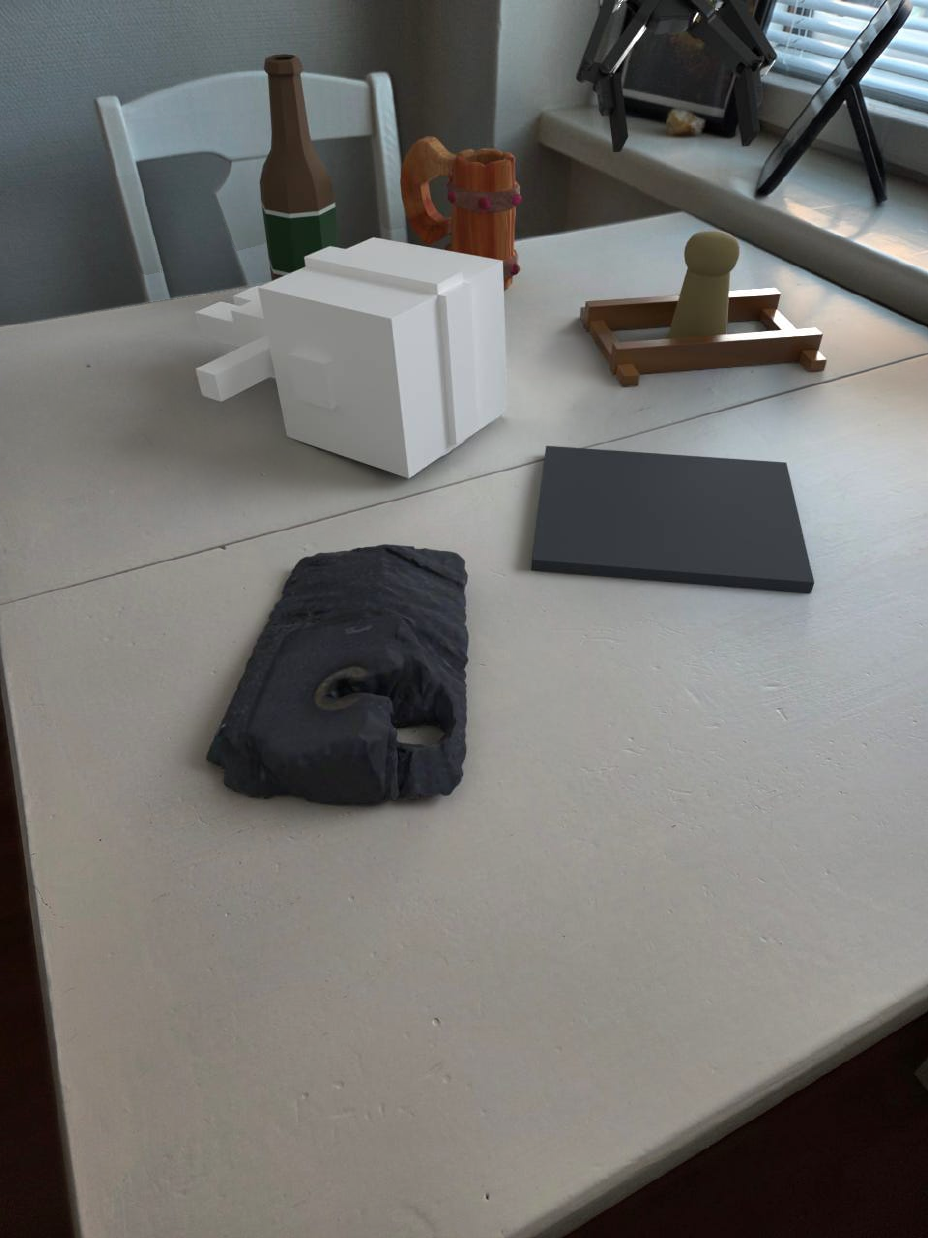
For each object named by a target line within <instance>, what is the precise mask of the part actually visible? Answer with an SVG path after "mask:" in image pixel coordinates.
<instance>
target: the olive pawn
mask: <svg viewBox="0 0 928 1238" xmlns="http://www.w3.org/2000/svg"><path fill="white" fill-rule="evenodd" d="M740 250H741V249H740V245H739V241H738V239H737V237H735V236H734V235H732V234H730V233H728V232H725V231H721V230H711V229H710V230H702V231H698V232H696V233H694V234H692V235H691V236H690V238H688V241H687V242H686V244H685V247H684V252H683V255H684V256H683V257H684V263H685V265H686V267H687V269H686V273H685V275H684V279H683V284H682V286H681V289H680V292H679V295H680V296H679V299H678V303H677V306H676V309H675V313H674V316H673V320H672V323H671V326H669V331H668V333H667V336H666V337H667V338H666V339H672V338H685V337H699V336H712V335H726V334H727V333H728V322H727V318H728V300H729V291H730V283H731V282H730V281H731V272H732V271H733V270H734V269H735V267H736V265H737V263H738V261H739V258H740V253H741V251H740Z"/></svg>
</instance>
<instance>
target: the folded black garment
mask: <svg viewBox="0 0 928 1238" xmlns="http://www.w3.org/2000/svg"><path fill="white" fill-rule="evenodd" d="M468 579H469V574H468V572H467V570H466V560H465V559H464V558H463V557H462V555H460V554H458V553H457V552H454V551H451V550H450V551H449V550H438V549H431V548H427V547H424V548H415V546H414V545H401V544H390V543H389V544H388V543H387V544H386V543H384V544H378V545H373V546H365V547H356V548H352V549H350V550H340V551H330V552H318V553H315V554H313V555H311V556H304V557H302V558H301V559H300V560H299V559H298V561H297V562H296V564H295V565H294V567H293V569H292V570H291V573H290V575H289V576H288V578H287V579H286V580H285V582H284V585H283V589H282V591H281V594H282V596H281V597H280V599H279V600H278V601H277V602H276V603H275V605H274V609H272V610H271V612H270V614H269V616H268V620H267V622H266V624H265V625H264V627H263V629H262V631H261V633H260V634H259V636H258V638H257V639H256V643H255V645H253V649H252V652H251V655H250V657H249V658H248V659H247V660H246V664H245V667H244V670H243V673H242V676H241V677H240V679H239V680H238V683H237V686H236V688H235V691H234V693H233V695H232V697H231V699H230V702H229V705H228V706H227V709H226V712H225V713H224V716H223V718H222V719H221V722H220V724H219V727H218V728H217V730H216V733H215V734H214V736H213V739H212V742H211V743H210V745H209V749H208V750H207V754H206V756H205V759H206V761H207V762H209V763H211V764H213V765H215V766H217V767H221V769H222V770H223V773H224V777H223V781H222V784H223V785H224V786H225V787H226V788H227V789H229V790H231V791H233V792H236V793H244V794H245V795H246V796H248V797H250V798H251V797H253V798H254V797H256V798H257V797H259V798H262V799H264V800H268V799H270V798H273V797H275V796H282V797H285V796H289V797H290V796H291V797H293V798H299V799H303V800H305V801H308V802H313V803H319V804H323V805H336V806H350V805H351V806H375V805H379V804H381V803H383V802H384V801H388V800H390V799H391V800H392V801H397V798H398V797H400V798H401V799H410V798H411V799H416V800H417V799H419V798H420V797H421V796H422V795H426V796H431V797H432V796H433V797H434V796H438V795H442V796H444V797H448V796H450V795H451V794H452V793H453V791H454V790H455V789H456V788H457V787H458V786H459V785H460V784H461V783H462V779H463V777H464V770H463V764H464V762H465V760H466V757H467V751H468V749H467V748H468V747H467V743H466V737H467V734H466V733H467V732H466V728H467V727H466V726H467V723H468V716H467V715H468V714H467V713H468V712H467V711H468V705H467V704H468V700H467V699H468V698H467V683H466V678H467V672H466V670H465V669H466V666H467V665H468V663H469V657H468V649H469V643H470V642H469V639H470V638H469V637H470V636H469V631H468V627H467V624H466V622H467V613H466V612H467V610H466V606H467V599H466V593H465V592H466V586H467V584H468ZM416 725H437V726H438V727H439V729H440V731H442V735H441V737H440V738H439V740H438V741H436V743H434V744H430V745H426V744H422V743H410V742H405V741H404V742H401V741H399V740H398V731H397V729H396V728H399V727H403V726H416Z"/></svg>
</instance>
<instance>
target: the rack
mask: <svg viewBox="0 0 928 1238" xmlns="http://www.w3.org/2000/svg"><path fill="white" fill-rule="evenodd" d="M679 296H680V294H671V295H670V294H669V295H656V296H641V297H628V298H627V297H625V298H611V299H598V300H596V299H595V300H586V301H585V302H584V303H585V304H584V306H581V307H580V310H579V319H580V321H581V322H582V323H583V324H582V327H583V329H584V330H585V332H586V333H589V335H590V336H591V338H592V340H593V341H594V343H595V345H596V347H597V348H598V349H599V351H600V353H601V354H602V356H603V357H604V359H605V361H606V362H607V364H608V366H609V371H610V373H611V374H612V376H613V377H616V378H617V381H618V382H619V384H620V386H621V387H623V388H626V387H637V386H639V383H640V376H641V375H646V374H647V375H648V374H658V373H671V372H673V373H674V372H684V371H697V370H711V369H712V370H713V369H722V368H734V367H735V368H736V367H751V366H760V365H761V366H762V365H763V366H764V365H773V364H786V363H800V364H801V365H802V366H803V367H804V368H805V369H806V370H807V371H808V372H809V373H813V372H823V371H825V368H826V365H827V361H828V360H827V358H826V357H825V356H824V355H823V354H822V353H821V352H820V351H819V350H820V346H821V344H822V343H821V342H822V339H823V335H824V334H823V333H822V332H821V330H819V329H818V328H817V327H809V328H796V327H795V326H794V325H793V324H792V323H791V322H789V320H788V319H787V318H786V317H784V315H783V314H781V312H780V311H779V310H778V308H779V304H780V299H781V296H782V294H781V292H780V291H779V290H778V289H777V288H775V287H772V288H760V289H759V288H757V289H744V290H731V291H730V290H729V300H728V318H727V323H735V322H736V323H737V322H751V321H760V322H761V323H762V324H763V325H764V326H765V327H766V328H767V329H768V331H755V332H742V333H729V334H726V335H712V336H699V337H685V338H672V339H667V338H660V339H659V338H658V339H646V340H645V339H644V340H632V341H620V342H619V341H618V339H617V338H616V337H615V335H614V333H613V332H612V331H625V330H640V329H652V328H666V327H670V326H671V323H672V320H673V316H674V313H675V309H676V306H677V303H678V299H679Z"/></svg>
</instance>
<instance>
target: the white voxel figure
mask: <svg viewBox="0 0 928 1238" xmlns="http://www.w3.org/2000/svg"><path fill="white" fill-rule="evenodd" d="M304 259H305V266H306V267H304V268H301V269H299V270H297V271H294V272H292V273H290V274H287V275H285V276H283V277H280V278H278V279H276V280H274V281H272V280H271V281H269V282H267V283H264V284H262V285H255V286H253V287H250V288H248V289H246V290H244V291H241V292H239V293H236V294H234V295H232V299H233V303H234V304H233V303H229V302H225V301H218V302H215V303H213V304H210V305H208V306H206V307H203V308H202V309H199V310H197V311H195V317H196V321H197V326H198V330H199V335H200V337H201V338H203V339H208V340H212V341H214V342H218V343H221V344H225V345H228V346H232V347H236V349H234V350H233V351H231V352H230V351H229V352H228V353H226V354H223V355H222V356H220V357H217V358H215V359H214V360H212V361H209V362H207V363H205V364H203V365H200V366H199V367H197V368H195V372H196V377H197V380H198V384H199V388H200V392H201V395H202V396H203V397H205V398H208V399H211V400H213V401H217V402H222V403H223V402H224V401H225V400H228V399H229V398H231V397H233V396H235V395H238V394H240V393H241V392H243V391H245V390H248V389H249V388H251V387H253V386H254V385H256V384H258V383H260V382H262V381H265V380H267V379H268V378H272V379H275V382H276V387H277V393H278V397H279V402H280V408H281V412H282V418H283V423H284V429H285V433H286V437H287V438H290V439H292V440H296V441H298V442H301V443H304V444H307V445H310V446H313V447H316V448H318V449H321V450H325V451H327V452H331V453H334V454H336V455H339V456H342V457H346V458H348V459H351V460H354V461H357V462H360V463H362V464H366V465H369V466H370V467H371V466H372V467H375V468H378V469H380V470H383V471H386V472H389V473H392V474H395V475H398V476H401V477H404V478H406V479H410V478H412V477H413V476H415V475H417V474H418V473H420V472H421V471H423V470H424V469H425V468H426V467H428V466H429V465H431V464H432V463H434V462H435V461H437V460H438V459H439V458H441V457H444V456H446V455H447V454H449V453H450V452H451V451H453V450H454V449H456V448H457V447H459V446H461V444H463V443H464V442H466V440H467V439H468V438H470V437H471V436H472V435H474V434H475V433H478V431H480V430H481V429H483V428H484V427H486V426H487V425H489V424H490V423H491V422H493V421H495V420H496V419H497V418H499V417H500V416H502V415H503V414H505V413H507V412H508V411H509V402H508V372H507V370H508V369H507V345H506V344H507V342H506V318H505V317H506V315H505V314H506V313H505V290H504V282H503V261H501V260H496V259H490V258H485V257H479V256H474V255H468V254H463V253H457V252H452V251H446V250H445V249H440V248H435V247H429V246H423V245H418V244H412V243H407V242H402V241H397V240H390V239H386V238H379V237H374V236H373V237H371V238H368V239H366V240H364V241H361V242H359V243H357V244H354V245H352V246H349V247H347V248H341V247H339V248H337V247H332V246H329V247H327V248H324V249H322V250H320V251H317V252H315V253H312V254H310V255H308V256H305V257H304Z"/></svg>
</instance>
